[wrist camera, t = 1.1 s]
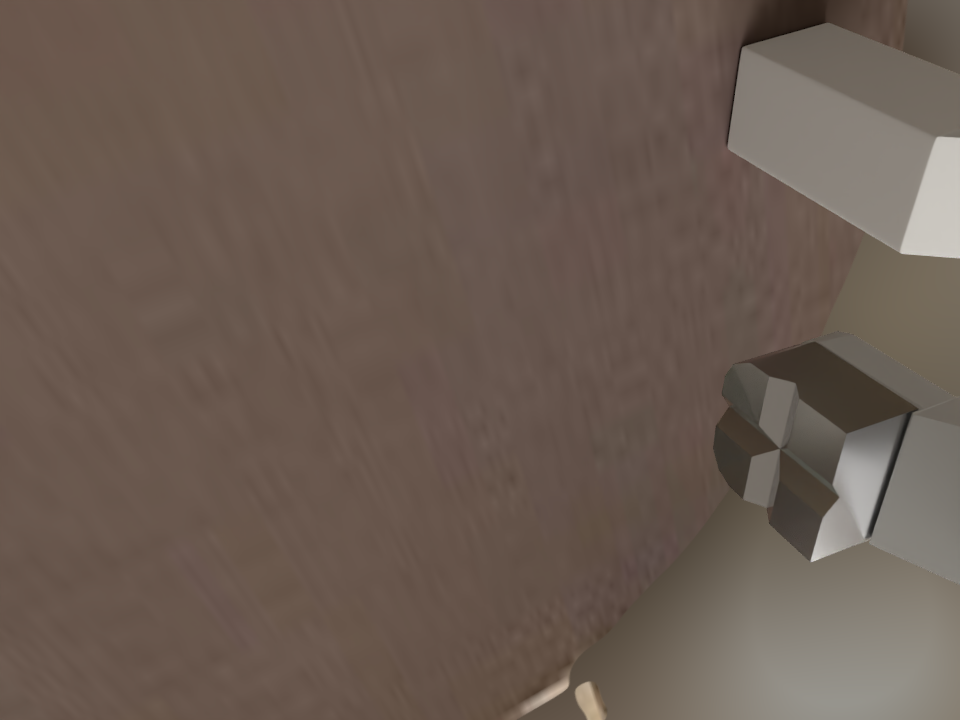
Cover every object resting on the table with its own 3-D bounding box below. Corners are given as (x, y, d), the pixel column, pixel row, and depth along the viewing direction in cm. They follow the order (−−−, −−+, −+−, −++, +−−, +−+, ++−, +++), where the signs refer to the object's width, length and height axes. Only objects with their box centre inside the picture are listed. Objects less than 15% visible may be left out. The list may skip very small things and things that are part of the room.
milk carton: (725, 148, 58) (959, 290, 45) (739, 44, 53) (1006, 169, 40) (805, 122, 60) (1050, 249, 47) (826, 20, 56) (1105, 131, 43)
